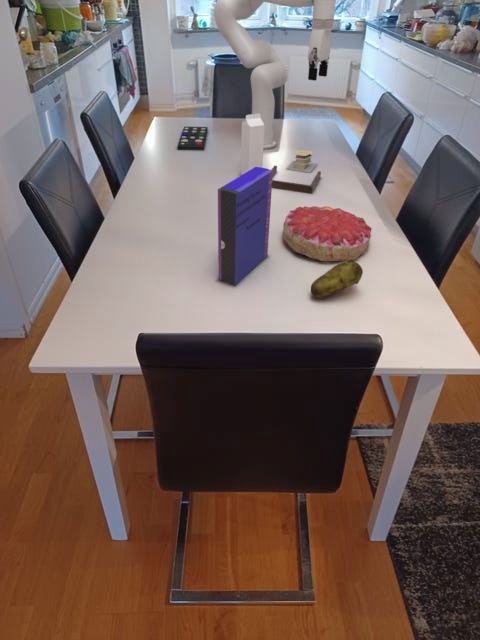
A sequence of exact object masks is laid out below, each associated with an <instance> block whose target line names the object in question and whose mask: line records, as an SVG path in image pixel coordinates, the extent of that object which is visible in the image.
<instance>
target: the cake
mask: <svg viewBox="0 0 480 640" xmlns="http://www.w3.org/2000/svg"><path fill="white" fill-rule="evenodd" d="M282 225H283V226H282V228H283V229H282V235H281V237H282V239H283V240H284V241H285V242H286V244H287V245H288V246H289V247H290V248H291V249H292V250H293V251H294V252H296V253H298V254H301V255H305V256H306V257H308V258H310V259H314V260H318V261H320V262H335V261H338V262H342V261H346V260H350V261H355V260H357V259H359V257H360V256H361V255H364V253H365V252H366V250H367V248H368V246H369V243H370V241H371V237H372V235H371V233H372V230H373V228H372V227H371V226H370V225H368V224H367V222H366V221H365V219H364V217H359V216H357V215H355V214H353V213H352V212H350V211H346V210H343V209H341V208H339V207H337V208H333V207H330V206H322V207H321V206H320V207H319V206H316V205H315V206H303V207H302V206H298V207H296V208H294V209H292V210H289V213H287V215H286V216H285V219H284V222H283V224H282Z"/></svg>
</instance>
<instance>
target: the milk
mask: <svg viewBox="0 0 480 640" xmlns="http://www.w3.org/2000/svg"><path fill="white" fill-rule="evenodd" d="M260 116H261V114H260V113H259V114H252V113H251V114H246V115H245V119H244V120H243V121H242V122H241V137H240V140H241V141H240V176H241V175H243V174H244V173H246V172H248V171H249V170H251V169H253V168H254V167H261V168H263V163H264V162H263V160H264V149H263V144H264V123H263V121H262V120H261V118H260Z"/></svg>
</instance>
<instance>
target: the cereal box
mask: <svg viewBox="0 0 480 640" xmlns="http://www.w3.org/2000/svg"><path fill="white" fill-rule="evenodd" d="M272 176H273V171H272V170H271V169H268V168H266V167H262V168H261V167H254V168H253V169H251V170H249V171H248V172H246V173H244V174H243V175H241V174H240V175H239V176H238V177H236V178H234V179H233V180H231V181H230V182H228V183H226V184H224V185H223V186H220V187H219V188H218V189H217V249H218V253H217V254H218V256H217V257H218V262H217V263H218V281H220V282H222V283H226V284H228V285H231V286H237V285H238V284H239V282H241V281H242V280H243V279H244V278H245V277H247V276H248V275H249V274H250V273H251V272H252V271H253V270H254V269H255V268H256V267H258V265H260V263H263V261H264V260H265V259H266V258H267V257H268V255H269V238H270V221H271V207H272V206H271V205H272V193H273V192H272V191H273V190H272V189H273V188H272V180H273V178H272ZM273 177H274V176H273Z"/></svg>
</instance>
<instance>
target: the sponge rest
mask: <svg viewBox="0 0 480 640" xmlns="http://www.w3.org/2000/svg"><path fill="white" fill-rule="evenodd" d="M270 170H272V171H273V176H272V189H279V190H284V191H285V190H286V191H293V192H300V193H305V194H306V193H307V194H313V192H314V190H315V189H316V186H317V185H318V183H319V181H320V180H321V175H322V174H321V173H322V171H321V170H320V171H317V172H316V175H314V178H313V179H312V181H311V184H304V183H296V182H289V181H282V180H276V179H275V180H274V179H273V178H274V176H275V175H276V174H277V173H278V165H273V167H272V168H271V169H270Z"/></svg>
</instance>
